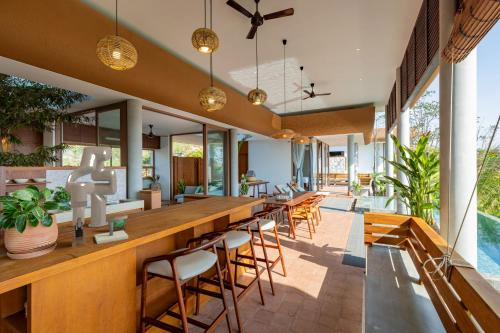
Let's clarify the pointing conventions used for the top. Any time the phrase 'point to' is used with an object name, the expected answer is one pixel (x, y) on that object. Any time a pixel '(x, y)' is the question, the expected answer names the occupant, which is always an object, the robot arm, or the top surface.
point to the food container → (118, 222)
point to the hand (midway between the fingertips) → (78, 234)
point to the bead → (78, 239)
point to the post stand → (110, 235)
